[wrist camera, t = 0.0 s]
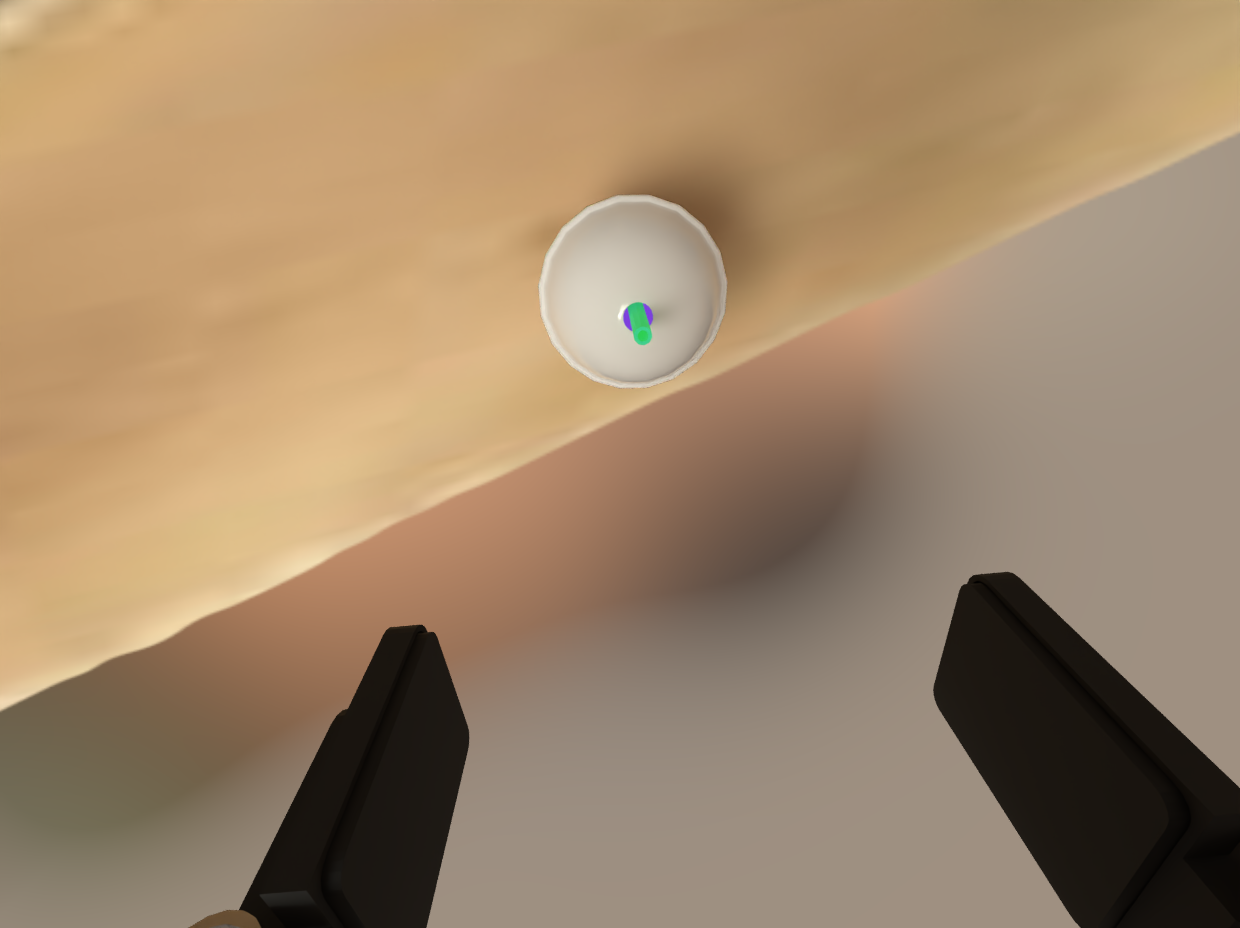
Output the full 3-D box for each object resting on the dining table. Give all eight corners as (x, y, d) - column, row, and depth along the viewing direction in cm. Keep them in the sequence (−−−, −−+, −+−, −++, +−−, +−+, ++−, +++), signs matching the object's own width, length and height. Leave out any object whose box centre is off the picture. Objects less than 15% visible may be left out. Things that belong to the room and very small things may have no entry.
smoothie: (683, 319, 38) (754, 441, 20) (565, 324, 38) (533, 450, 20) (686, 186, 34) (778, 194, 16) (555, 191, 34) (504, 204, 16)
